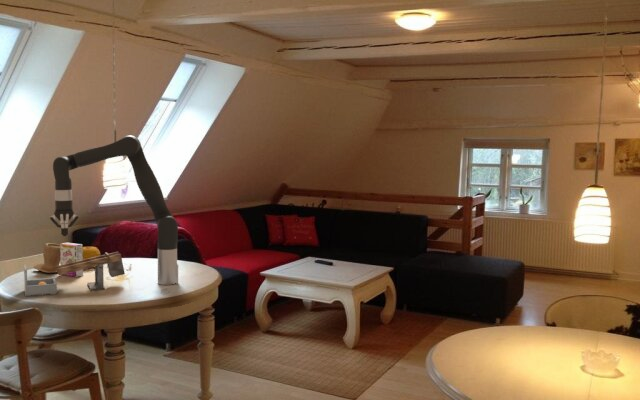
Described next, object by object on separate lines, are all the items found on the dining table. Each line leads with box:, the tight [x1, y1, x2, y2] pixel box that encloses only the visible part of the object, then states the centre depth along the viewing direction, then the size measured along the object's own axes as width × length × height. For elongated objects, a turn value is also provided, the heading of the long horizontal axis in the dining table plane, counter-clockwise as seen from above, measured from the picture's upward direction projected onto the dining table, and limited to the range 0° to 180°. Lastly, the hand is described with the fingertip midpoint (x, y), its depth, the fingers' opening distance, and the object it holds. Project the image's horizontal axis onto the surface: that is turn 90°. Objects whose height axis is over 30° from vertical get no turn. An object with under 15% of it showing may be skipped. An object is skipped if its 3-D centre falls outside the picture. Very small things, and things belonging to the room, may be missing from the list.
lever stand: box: [87, 263, 106, 292], centre depth 276 cm, size 6×13×12 cm, turn 29°
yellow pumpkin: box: [83, 246, 101, 269], centre depth 320 cm, size 13×13×11 cm
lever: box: [56, 251, 126, 278], centre depth 278 cm, size 28×14×11 cm, turn 119°
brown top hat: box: [32, 242, 61, 274], centre depth 307 cm, size 15×12×15 cm
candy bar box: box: [59, 242, 84, 278], centre depth 299 cm, size 11×5×16 cm, turn 65°
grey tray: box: [23, 264, 58, 297], centre depth 265 cm, size 13×13×12 cm
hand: (64, 235), depth 275 cm, fingers closed
